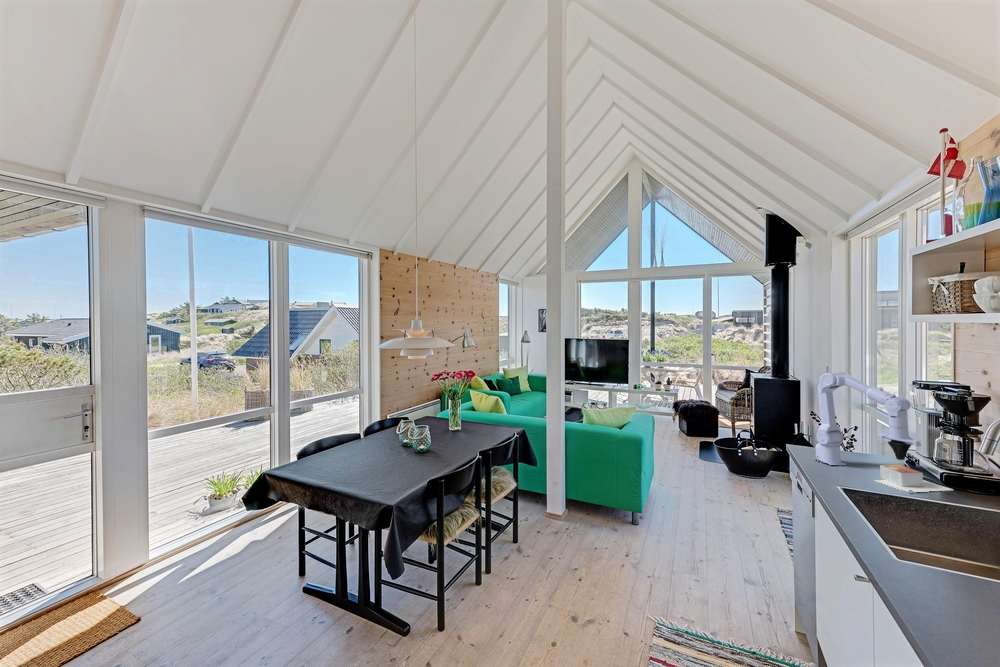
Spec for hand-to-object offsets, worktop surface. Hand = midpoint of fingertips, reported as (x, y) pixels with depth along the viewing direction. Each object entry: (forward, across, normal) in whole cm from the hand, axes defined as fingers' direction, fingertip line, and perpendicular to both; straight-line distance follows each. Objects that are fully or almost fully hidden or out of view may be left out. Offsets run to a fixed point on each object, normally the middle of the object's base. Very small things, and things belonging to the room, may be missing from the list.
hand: (900, 459), depth 167 cm
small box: (+6, +5, 0) cm, 8 cm away
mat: (+9, -4, 0) cm, 10 cm away
